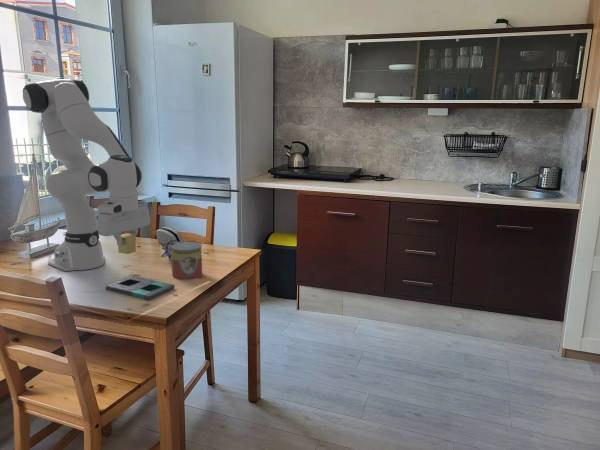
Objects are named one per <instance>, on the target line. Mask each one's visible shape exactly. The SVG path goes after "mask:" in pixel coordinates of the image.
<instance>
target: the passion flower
mask: <svg viewBox="0 0 600 450" xmlns="http://www.w3.org/2000/svg"><path fill="white" fill-rule="evenodd" d="M180 242H185V240H184V239H182V240H181V241H179V242H178V241H176V239H175V238H174V237H173V238H172V239H171V241H169V242H167V243H166V242H164V245H163V244H161V246H162V247H161V249H162V250H164V252H163V253H162V255H160V256H161V258H166V257H168V261H169V263H172V257H171V245H173V244H176V243H180Z"/></svg>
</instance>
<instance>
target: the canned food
mask: <svg viewBox="0 0 600 450" xmlns="http://www.w3.org/2000/svg"><path fill="white" fill-rule="evenodd" d="M202 256H203V255H202V244H201V243H199V242H196V241H184V242H180V243H176V244H173V245H171V257H172V262H171V271H172V275H171V276H172V277H173V278H174V279H176V280H184V281H185V280H186V281H187V280H193V279H198V278H202V277H203V263H202V262H203V261H202V260H203V258H202Z"/></svg>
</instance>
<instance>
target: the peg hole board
mask: <svg viewBox="0 0 600 450" xmlns="http://www.w3.org/2000/svg"><path fill="white" fill-rule="evenodd" d="M105 290H106V291H110V292H114V293H116V294H117V293H118V294H122V295H125V296H130V297H133V298H138V299H141V300H146V301H148V302H149V301H152V300H154V299H157V298H159V297H160V296H163V295H164V294H167V293H169V292H171V291H173V290H175V284H172V283H167V282H162V281H158V280H154V279H150V278H145V277H141V276H136V275H130V276H127V277H124V278H122V279H119V280H116V281H114V282H111V283H109V284H106V285H105Z"/></svg>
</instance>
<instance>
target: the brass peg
mask: <svg viewBox="0 0 600 450" xmlns="http://www.w3.org/2000/svg"><path fill="white" fill-rule="evenodd" d="M120 238H121V239H122V240H124V245H121V246H119V245H117V246H118V247H117V248H118V253H120V254H125V255H129V254H133V253H135V252H137V245H136V244H137V243H136V241H135V235H134V234H131V233H128V232H124V233H121V236H120Z"/></svg>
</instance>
